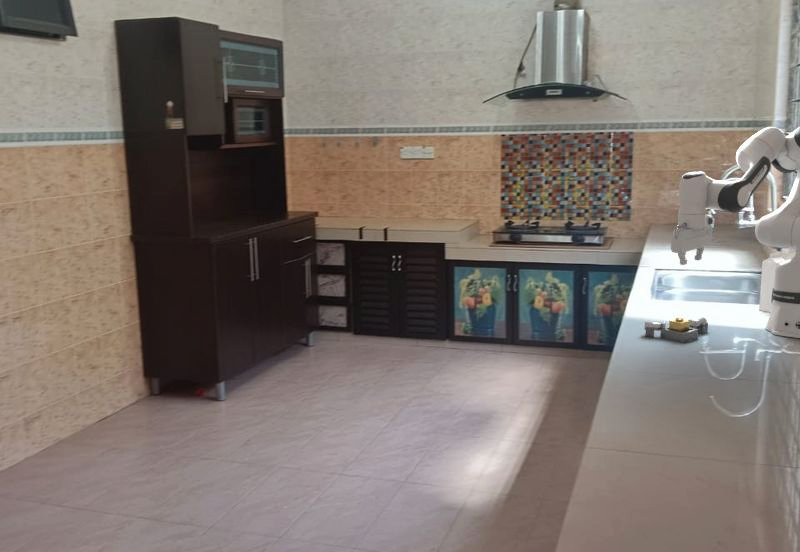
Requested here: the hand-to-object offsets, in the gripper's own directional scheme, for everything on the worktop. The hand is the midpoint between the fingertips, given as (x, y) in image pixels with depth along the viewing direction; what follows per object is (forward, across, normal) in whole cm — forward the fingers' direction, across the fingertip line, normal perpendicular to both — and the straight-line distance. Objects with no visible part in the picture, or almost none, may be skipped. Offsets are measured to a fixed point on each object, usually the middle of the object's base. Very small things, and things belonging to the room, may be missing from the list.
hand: (690, 262), depth 271 cm
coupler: (+23, -11, -2) cm, 25 cm away
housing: (+23, -11, -3) cm, 26 cm away
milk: (+26, +49, -6) cm, 56 cm away
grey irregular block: (+24, 0, -3) cm, 24 cm away
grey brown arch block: (+23, -14, +4) cm, 28 cm away
